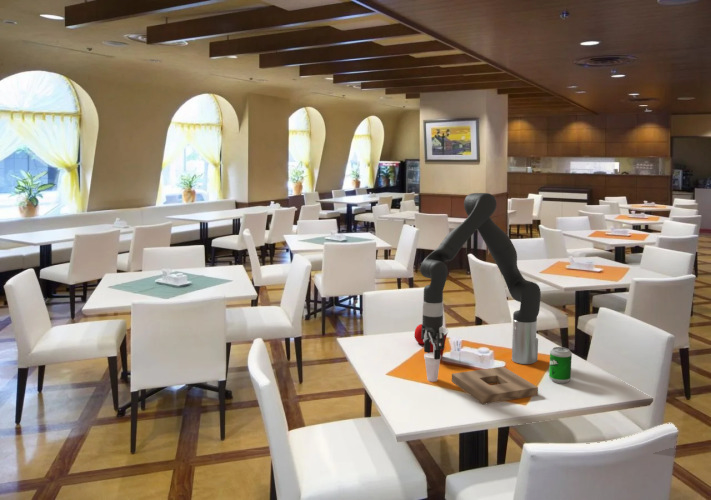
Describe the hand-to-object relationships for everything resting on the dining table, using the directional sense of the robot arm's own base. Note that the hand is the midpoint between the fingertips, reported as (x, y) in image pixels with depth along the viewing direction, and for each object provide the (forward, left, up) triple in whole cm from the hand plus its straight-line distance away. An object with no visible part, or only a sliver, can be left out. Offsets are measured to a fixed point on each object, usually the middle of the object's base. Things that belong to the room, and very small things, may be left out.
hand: (432, 355), depth 222 cm
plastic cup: (-12, -22, -10) cm, 27 cm away
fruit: (-16, -41, -10) cm, 45 cm away
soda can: (-44, +17, -10) cm, 48 cm away
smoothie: (0, 0, -10) cm, 10 cm away
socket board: (-17, +15, -10) cm, 25 cm away
